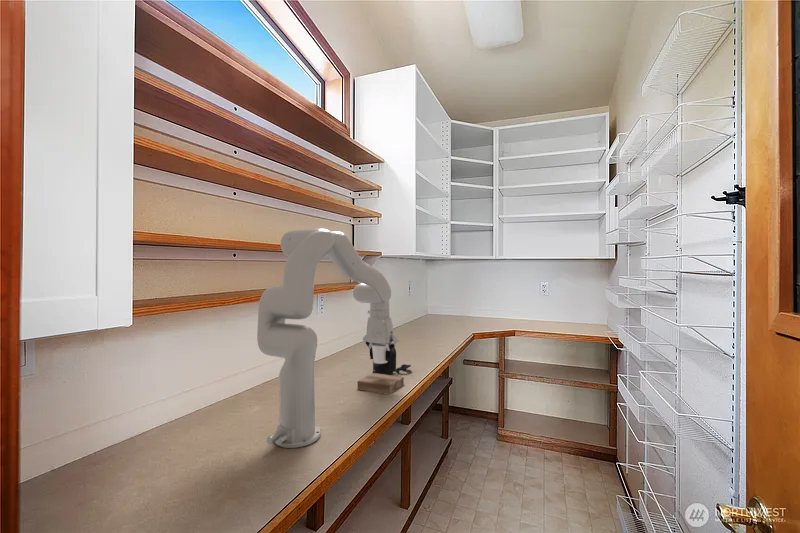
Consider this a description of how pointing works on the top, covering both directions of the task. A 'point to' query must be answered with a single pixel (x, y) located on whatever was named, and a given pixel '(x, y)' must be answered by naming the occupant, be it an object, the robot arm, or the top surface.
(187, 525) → the top surface
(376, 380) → the walnut riser
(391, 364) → the milk frother
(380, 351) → the white cup
